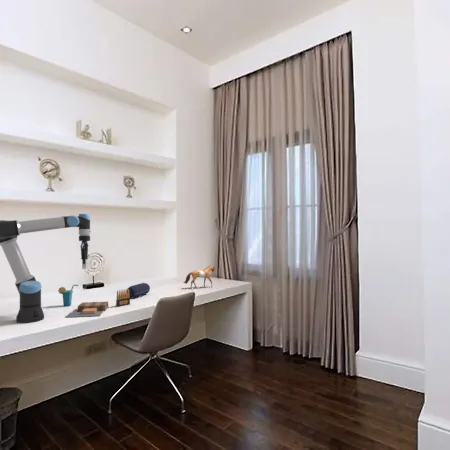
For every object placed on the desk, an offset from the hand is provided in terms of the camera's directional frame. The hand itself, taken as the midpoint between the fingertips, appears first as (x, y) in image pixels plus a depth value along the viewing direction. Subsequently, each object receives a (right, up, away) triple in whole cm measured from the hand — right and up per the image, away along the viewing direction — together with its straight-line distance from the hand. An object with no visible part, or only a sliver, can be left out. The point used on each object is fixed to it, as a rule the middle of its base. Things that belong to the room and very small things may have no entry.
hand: (84, 268), depth 242 cm
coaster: (+9, -28, -14) cm, 33 cm away
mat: (+8, -28, -18) cm, 34 cm away
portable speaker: (+27, -29, +42) cm, 58 cm away
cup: (-16, -29, +9) cm, 34 cm away
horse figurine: (+76, -29, +83) cm, 116 cm away
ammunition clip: (+25, -29, +8) cm, 39 cm away
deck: (+8, -28, -4) cm, 30 cm away
